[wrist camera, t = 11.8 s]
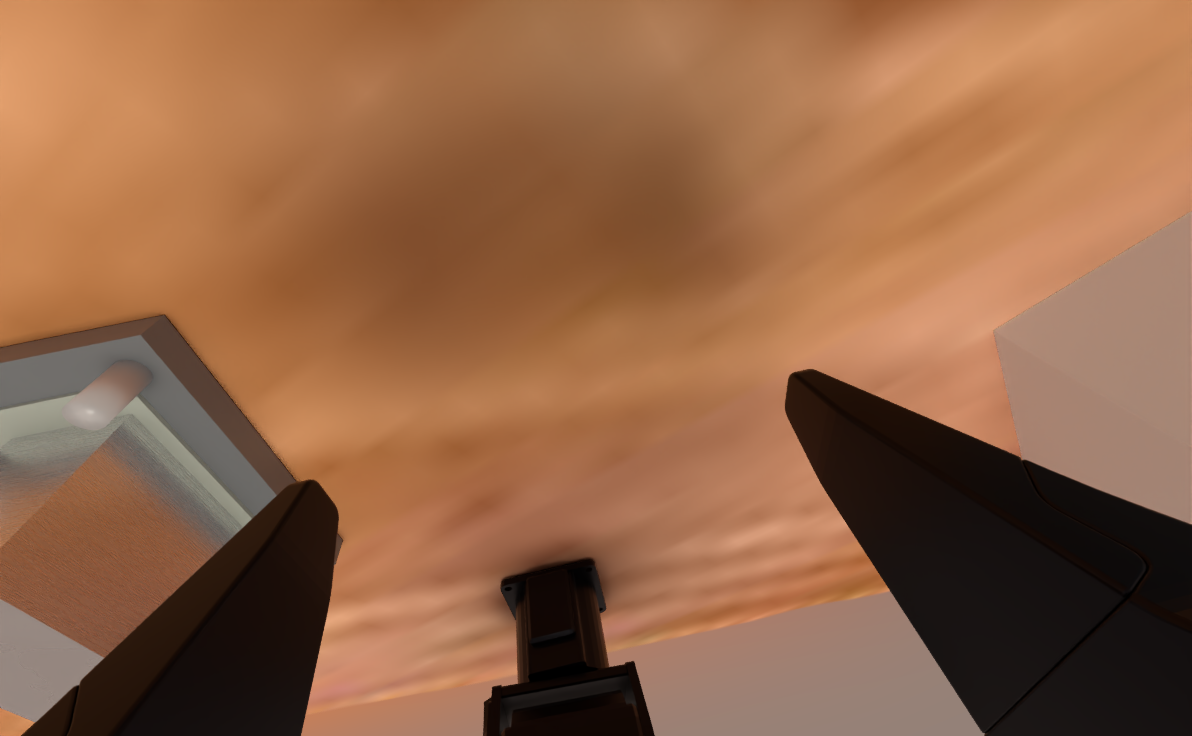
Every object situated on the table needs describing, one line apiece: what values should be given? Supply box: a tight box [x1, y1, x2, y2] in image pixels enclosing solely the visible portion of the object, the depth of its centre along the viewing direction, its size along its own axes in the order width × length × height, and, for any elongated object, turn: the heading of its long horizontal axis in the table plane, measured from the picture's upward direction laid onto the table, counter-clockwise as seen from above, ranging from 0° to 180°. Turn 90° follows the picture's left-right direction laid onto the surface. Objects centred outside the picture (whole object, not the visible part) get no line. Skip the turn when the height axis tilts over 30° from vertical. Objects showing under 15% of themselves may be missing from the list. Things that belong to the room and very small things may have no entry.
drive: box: [0, 413, 243, 722], centre depth 18 cm, size 9×5×7 cm, turn 8°
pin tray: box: [0, 315, 343, 564], centre depth 21 cm, size 15×9×4 cm, turn 8°
